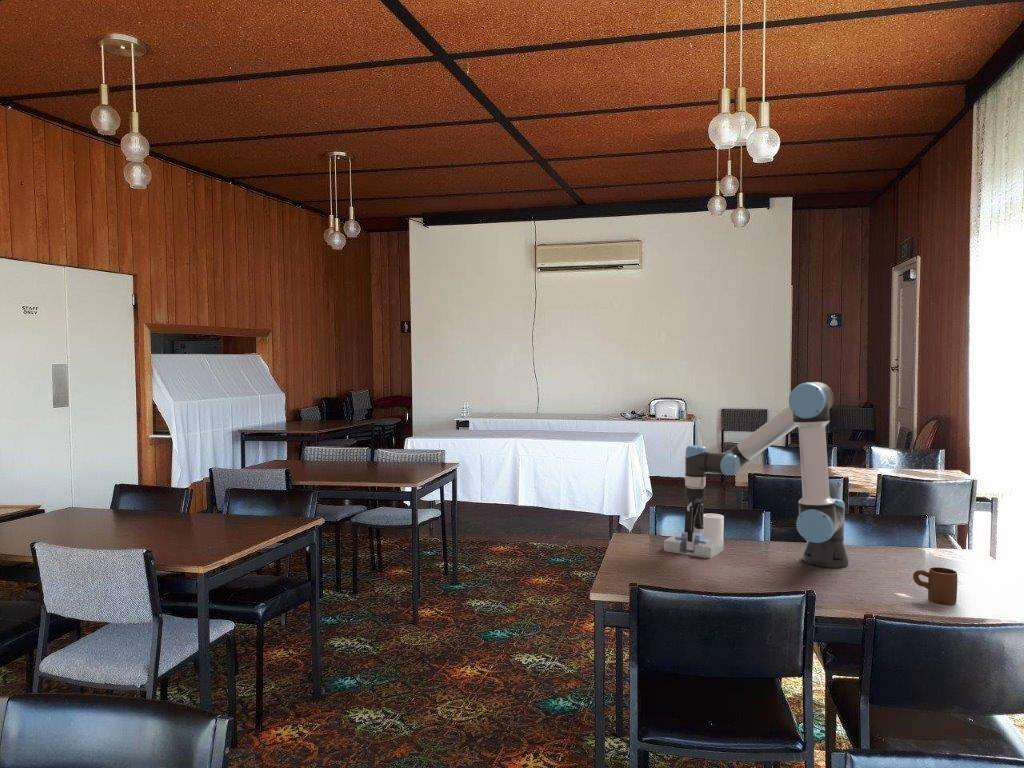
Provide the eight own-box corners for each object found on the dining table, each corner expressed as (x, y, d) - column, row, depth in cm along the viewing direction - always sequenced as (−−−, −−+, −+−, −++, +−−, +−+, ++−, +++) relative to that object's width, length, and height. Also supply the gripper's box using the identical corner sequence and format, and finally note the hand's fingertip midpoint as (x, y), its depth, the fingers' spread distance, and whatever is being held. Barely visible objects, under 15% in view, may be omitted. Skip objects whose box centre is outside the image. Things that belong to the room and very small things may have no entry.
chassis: (723, 550, 283) (723, 539, 282) (710, 558, 271) (711, 547, 271) (677, 543, 293) (678, 532, 292) (663, 550, 281) (664, 540, 281)
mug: (915, 602, 225) (916, 571, 225) (908, 594, 232) (909, 564, 232) (960, 606, 222) (961, 575, 222) (952, 598, 229) (953, 568, 229)
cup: (691, 537, 303) (692, 512, 302) (722, 539, 300) (723, 514, 299) (692, 542, 295) (692, 516, 294) (723, 544, 292) (724, 518, 291)
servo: (709, 552, 280) (709, 534, 280) (705, 554, 277) (705, 536, 277) (678, 547, 287) (679, 530, 287) (674, 549, 284) (675, 532, 284)
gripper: (694, 482, 291) (693, 541, 292) (675, 489, 275) (674, 551, 276) (713, 484, 286) (711, 544, 288) (695, 492, 271) (694, 555, 272)
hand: (693, 547), depth 282 cm, fingers open, 6 cm apart
